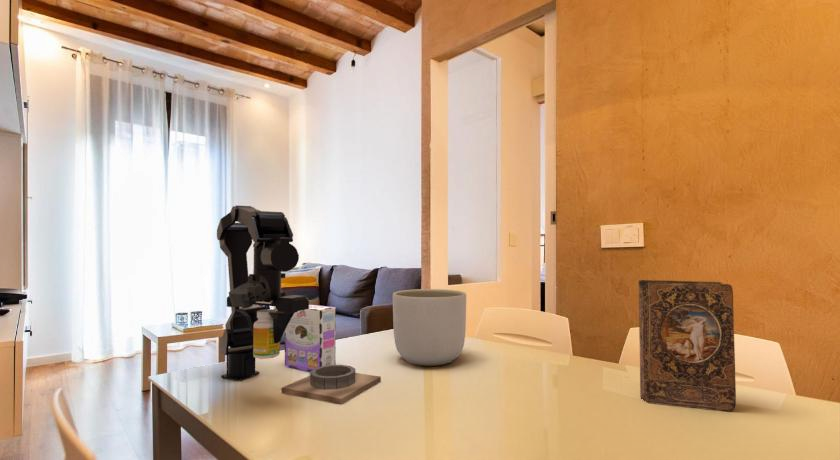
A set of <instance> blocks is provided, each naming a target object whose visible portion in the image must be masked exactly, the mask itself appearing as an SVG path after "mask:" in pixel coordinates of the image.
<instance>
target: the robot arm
mask: <svg viewBox="0 0 840 460" xmlns="http://www.w3.org/2000/svg"><path fill="white" fill-rule="evenodd" d="M216 228H217V229H216V239H217V240H218V241H219V248H220V250H221V251H222V252H223V254H224V255H225V256H226V257H227V267H228V279H229V281H228V282H229V291H228V296H227V297H226V307H227V308H231V309H230V310H231V313H230V315H229V316H228V318H227V321H226V322H225V326H224V327H225V328H224V330H223V334H222V337H221V340H220V343H219V345H220V347H219V348H220V353H222V354H223V355H224V356H226V373H224V374H222V375H220V377H221V378H223V379H227V380H233V381H238V382H239V381H243V380H246V379H248V378H251V377H254V376H257V375H259V374H260V371H258V370H256V358H255V357H254V356H253V327H254V323H255V322H256V321H258V318H257V311H259V310H265V309H267V307H268V306H269V307H275V310H276V311H274V312H269V314H270V316H271V317H272V318H273V336H274V343H279V342H280V343H281V339H283V338H282V337H283V335H284V334H285V329H286V327H287V325H288V323H289V321H290V320H291V318H292V316H293V315H294V313H295V312H298V311H301V310H305V309H309V305H310V299H309V298H308V297H307V295H298V294H291V295H286V291H282V279H285V278H286V272H289V271H291V270H294V268H295V267H296V266H297V264H298V262H299V259H300V255H299V253H298V250H297V248H296V246H294V245H293V244H291V243H293V241H294V239H293V237H294V233H293V231H292V228H291V225H290V224H289V221H288V218H287V217H286V215H285V213H284V212H282V211H265V210H260V209H257V208H255V206H252V205H235V206H234V205H233V206H232V207H231V210H230V211H229V213H226V215H224V216H223V217H222V218H220V220H219V223H218V226H217V227H216ZM251 246H252V247H253V270H252V271H253V272H252V273H250V274H249V267H248V256H247V255H248V254H247V253H248V251H249V249H251Z"/></svg>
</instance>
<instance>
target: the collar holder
mask: <svg viewBox="0 0 840 460" xmlns="http://www.w3.org/2000/svg"><path fill="white" fill-rule="evenodd" d="M381 382H382V376H378V375H373V374H372V375H371V374H365V373H359V372H356V368H355V367H353V366H351V365H347V364H336V365H327V366H321V367H318V368H315V369H313V370H312V371H311V372H309V375H308V376H306V377H303V378H301V379H299V380H296V381H294V382H292V383H289V384H287V385H284V386H282V387H281V393H282V394H285V395H290V396H295V397H300V398H306V399H311V400H316V401H320V402H326V403H332V404H337V405H343V404H345V403H346V402H348V401H350V400H351V399H354V398H356V396H359V395H360V394H362V393H364V392H366V391H367V390H369V389H371V388H373V387H375V386H376V385H377V384H379V383H381Z"/></svg>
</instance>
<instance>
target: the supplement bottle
mask: <svg viewBox="0 0 840 460" xmlns="http://www.w3.org/2000/svg"><path fill="white" fill-rule="evenodd" d="M274 311H276V309H271V308H270V309H267V308H266V309H265V310H259V311H257V318H258V321H256V322H255V323H254V327H253V356H254V357H255V359H258V360H259V359H260V360H261V359H262V360H263V359H273V358H276V357H278V356H279V355H280V351H281V350H280V349H281V344H280V343H281V341H280V342H279V343H274V336H273V318H272V317H271V316H270V314H269V312H274Z"/></svg>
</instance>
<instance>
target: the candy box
mask: <svg viewBox="0 0 840 460" xmlns="http://www.w3.org/2000/svg"><path fill="white" fill-rule="evenodd" d="M336 308H337V307H335V306H327V305H326V306H325V305H317V304H309V309H305V310H301V311H298V312H295V313H294V315H293V316H292V318H291V320H290V321H289V323H288V325H287V327H286V329H285V331H284V367H285V368H291V369H295V370H299V371H300V370H301V371H304V372H305V371H306V372H309V373H311V371H312V370H313V369H315V368H318V367H321V366H327V365H337V364H336V349H337V347H336V343H337V342H336V335H337V334H336V327H337V325H336V324H337V323H336V312H337V311H336V310H337V309H336Z"/></svg>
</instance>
